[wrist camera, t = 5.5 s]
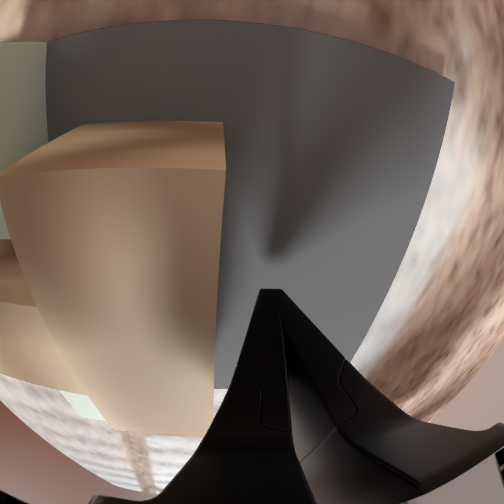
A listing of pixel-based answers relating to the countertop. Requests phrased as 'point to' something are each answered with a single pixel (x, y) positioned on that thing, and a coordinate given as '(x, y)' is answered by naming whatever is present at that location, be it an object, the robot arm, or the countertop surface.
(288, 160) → the mat
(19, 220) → the tee block
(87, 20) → the countertop surface
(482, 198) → the countertop surface
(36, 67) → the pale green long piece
